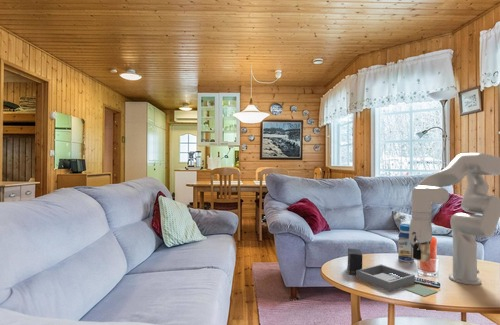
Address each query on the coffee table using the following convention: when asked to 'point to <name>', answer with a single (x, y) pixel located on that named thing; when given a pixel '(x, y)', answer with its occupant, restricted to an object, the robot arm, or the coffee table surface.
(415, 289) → the mat
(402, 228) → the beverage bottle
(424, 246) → the birch block
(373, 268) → the gray square tray
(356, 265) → the small box
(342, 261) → the coffee table surface
